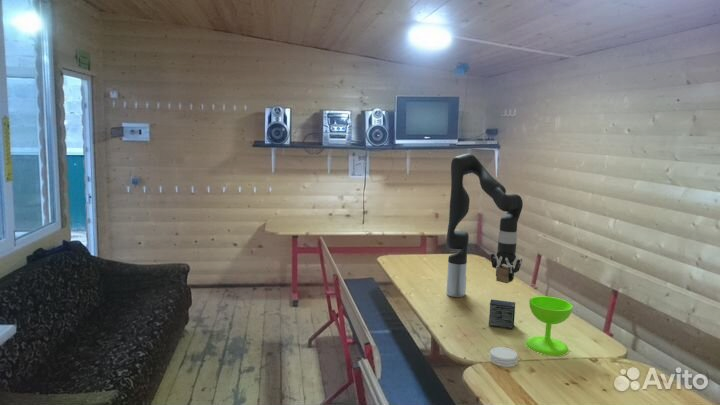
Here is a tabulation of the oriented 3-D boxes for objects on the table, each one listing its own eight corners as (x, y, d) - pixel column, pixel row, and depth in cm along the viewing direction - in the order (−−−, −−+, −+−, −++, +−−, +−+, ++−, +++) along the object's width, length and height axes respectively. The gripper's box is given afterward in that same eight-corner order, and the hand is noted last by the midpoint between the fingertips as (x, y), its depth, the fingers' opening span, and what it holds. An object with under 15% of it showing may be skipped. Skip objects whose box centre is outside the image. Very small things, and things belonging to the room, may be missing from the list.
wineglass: (546, 358, 186) (550, 313, 183) (517, 341, 200) (520, 298, 198) (577, 352, 192) (582, 307, 190) (547, 335, 207) (551, 294, 204)
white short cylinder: (490, 353, 190) (490, 344, 189) (517, 357, 187) (518, 348, 186) (489, 365, 180) (489, 356, 180) (517, 369, 177) (518, 360, 177)
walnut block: (501, 278, 217) (502, 265, 216) (512, 281, 213) (513, 267, 212) (496, 280, 213) (497, 267, 212) (506, 283, 210) (507, 269, 209)
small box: (514, 324, 218) (515, 301, 216) (513, 330, 212) (515, 306, 210) (489, 320, 221) (491, 298, 219) (488, 326, 215) (489, 303, 213)
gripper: (527, 242, 208) (524, 281, 211) (496, 236, 218) (493, 274, 221) (519, 245, 203) (515, 285, 206) (487, 239, 213) (485, 277, 215)
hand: (504, 279), depth 213 cm, fingers closed on walnut block, 5 cm apart
